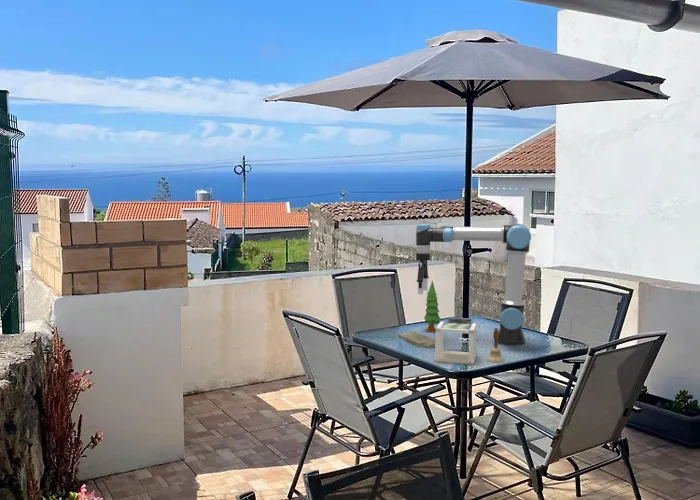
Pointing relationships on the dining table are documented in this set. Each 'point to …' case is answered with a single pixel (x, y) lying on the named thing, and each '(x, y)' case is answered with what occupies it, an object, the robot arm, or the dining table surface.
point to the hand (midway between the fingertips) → (422, 292)
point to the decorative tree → (432, 309)
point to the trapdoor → (458, 323)
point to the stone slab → (418, 339)
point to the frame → (453, 355)
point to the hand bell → (495, 349)
